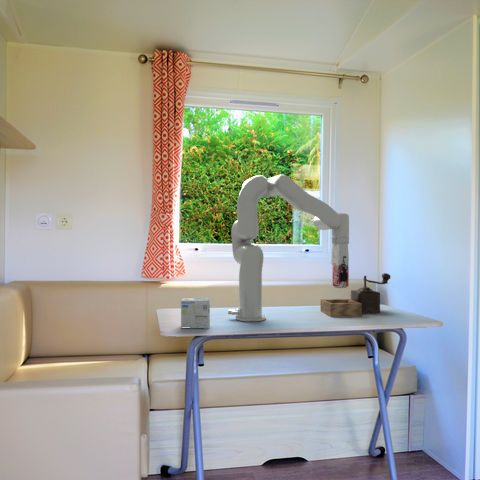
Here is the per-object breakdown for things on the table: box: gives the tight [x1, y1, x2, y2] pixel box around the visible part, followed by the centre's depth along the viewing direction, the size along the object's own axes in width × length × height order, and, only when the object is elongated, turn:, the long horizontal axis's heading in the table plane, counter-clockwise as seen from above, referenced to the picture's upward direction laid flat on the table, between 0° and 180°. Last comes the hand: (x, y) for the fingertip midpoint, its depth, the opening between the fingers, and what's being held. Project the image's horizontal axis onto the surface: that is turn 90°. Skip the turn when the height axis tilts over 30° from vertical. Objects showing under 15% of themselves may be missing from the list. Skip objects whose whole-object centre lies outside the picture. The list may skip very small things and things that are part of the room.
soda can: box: [332, 263, 350, 289], centre depth 187 cm, size 7×7×12 cm
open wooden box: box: [320, 298, 363, 318], centre depth 187 cm, size 14×14×6 cm
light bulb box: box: [180, 297, 211, 329], centre depth 158 cm, size 11×7×11 cm, turn 93°
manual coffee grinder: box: [350, 272, 391, 314], centre depth 192 cm, size 16×11×18 cm
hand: (340, 280), depth 187 cm, fingers closed on soda can, 6 cm apart
